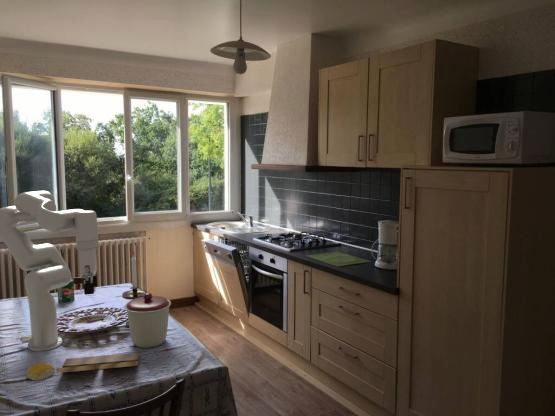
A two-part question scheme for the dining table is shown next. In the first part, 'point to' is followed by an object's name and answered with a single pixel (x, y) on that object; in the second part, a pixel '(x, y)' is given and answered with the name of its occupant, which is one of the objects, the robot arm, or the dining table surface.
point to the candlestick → (134, 292)
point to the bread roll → (40, 371)
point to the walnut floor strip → (101, 360)
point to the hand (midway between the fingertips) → (91, 290)
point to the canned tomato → (66, 293)
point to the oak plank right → (118, 365)
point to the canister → (148, 320)
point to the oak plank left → (77, 368)
